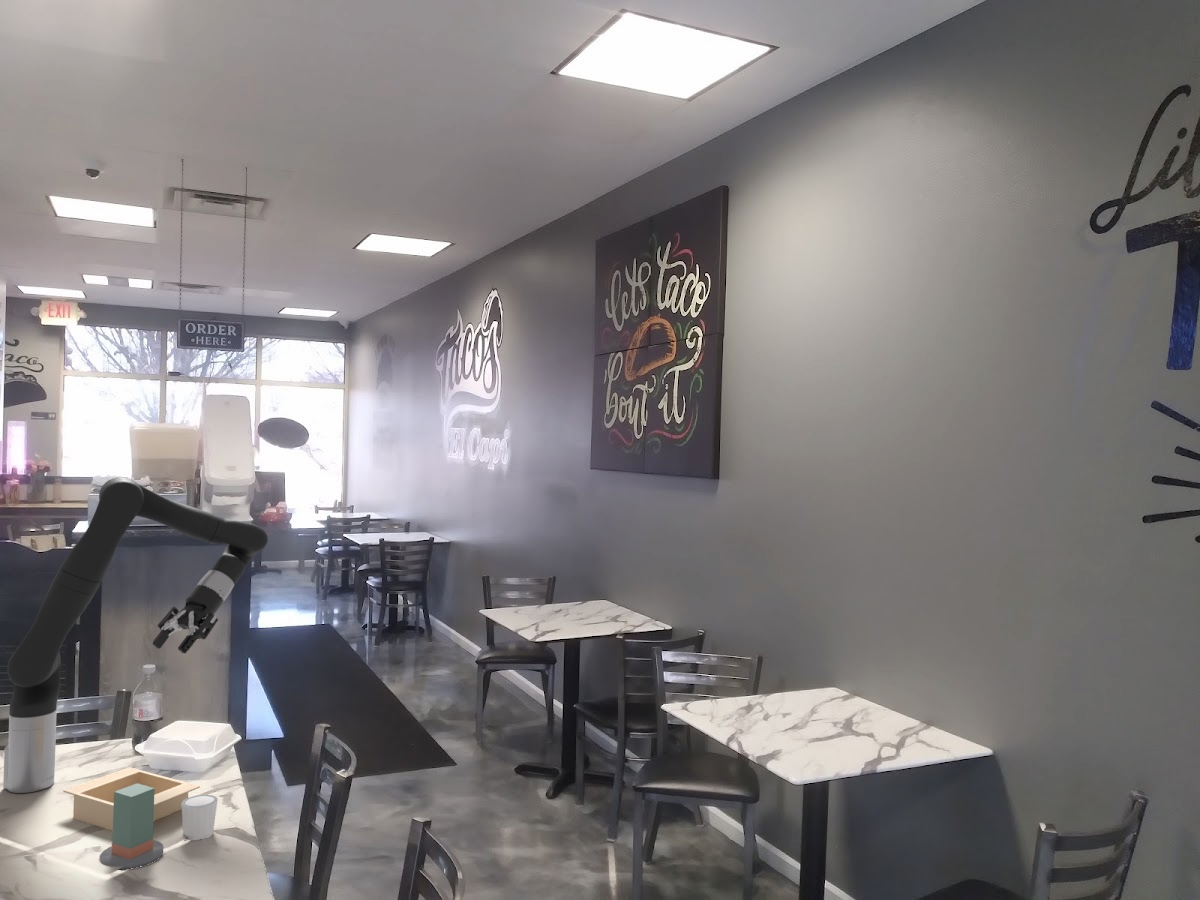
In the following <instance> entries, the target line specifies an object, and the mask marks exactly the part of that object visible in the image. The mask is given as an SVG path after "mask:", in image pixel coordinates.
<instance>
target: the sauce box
mask: <svg viewBox="0 0 1200 900" xmlns="http://www.w3.org/2000/svg"><path fill="white" fill-rule="evenodd" d="M154 791H155V788H152V787H149V786H145V785H142V784H138V783H137V784H134V785H131V786H129V787H126V788H123V789H120V790H118V791H115V792H114V809H113V831H112V843H111V846H112V854H114V855H117V856H120V857H123V858H126V859H129V860H130V859H132V858H134V857H136V856H139V855H141V854H143V853H145V852H147V851H150V850H152V849H153V840H154V822H155V821H154Z"/></svg>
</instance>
